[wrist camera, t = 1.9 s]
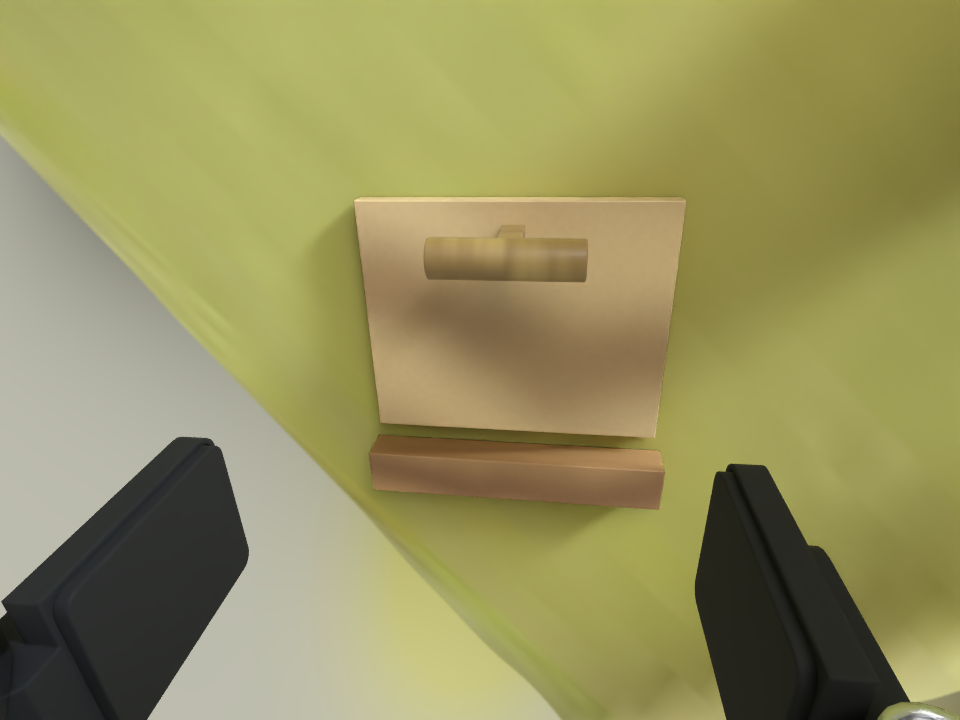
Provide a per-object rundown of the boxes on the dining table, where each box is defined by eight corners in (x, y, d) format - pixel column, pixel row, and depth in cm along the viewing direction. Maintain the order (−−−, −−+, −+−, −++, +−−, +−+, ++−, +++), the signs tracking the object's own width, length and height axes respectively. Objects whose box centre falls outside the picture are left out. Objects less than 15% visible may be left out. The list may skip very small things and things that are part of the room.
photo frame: (359, 196, 26) (314, 223, 21) (683, 196, 24) (710, 226, 19) (384, 414, 31) (353, 474, 26) (653, 429, 29) (669, 496, 24)
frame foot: (378, 434, 31) (368, 453, 30) (659, 450, 29) (665, 471, 28) (382, 469, 32) (373, 490, 31) (654, 487, 30) (659, 510, 29)
